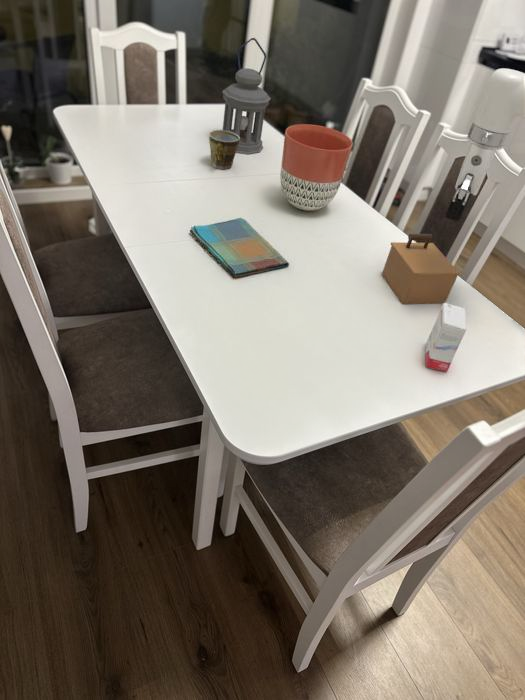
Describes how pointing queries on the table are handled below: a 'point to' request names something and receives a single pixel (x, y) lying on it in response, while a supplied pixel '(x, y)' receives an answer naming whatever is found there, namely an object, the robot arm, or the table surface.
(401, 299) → the carton
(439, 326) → the ink box
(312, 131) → the planter
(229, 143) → the ceramic cup
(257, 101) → the lantern
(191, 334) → the table surface
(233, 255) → the dish towel
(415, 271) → the flap
